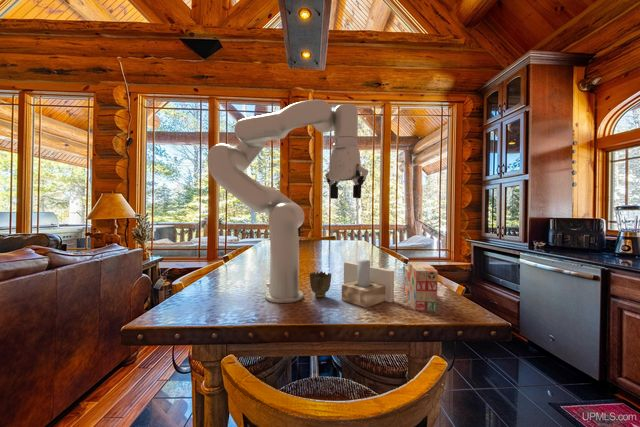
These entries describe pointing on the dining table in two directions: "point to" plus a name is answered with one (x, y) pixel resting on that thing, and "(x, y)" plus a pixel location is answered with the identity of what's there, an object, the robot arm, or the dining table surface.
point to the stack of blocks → (421, 286)
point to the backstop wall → (372, 278)
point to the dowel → (364, 273)
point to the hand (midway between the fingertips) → (345, 198)
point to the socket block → (363, 294)
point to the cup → (320, 283)
